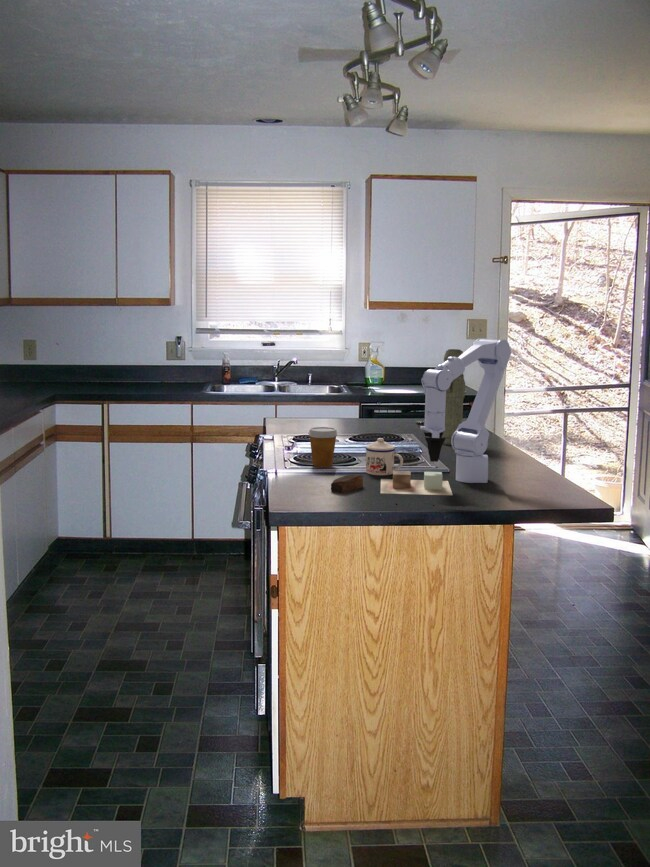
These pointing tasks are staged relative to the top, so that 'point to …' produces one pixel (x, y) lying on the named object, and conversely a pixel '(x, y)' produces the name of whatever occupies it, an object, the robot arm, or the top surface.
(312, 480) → the top surface
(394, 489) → the build board
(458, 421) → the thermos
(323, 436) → the disposable coffee cup
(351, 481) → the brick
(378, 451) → the teacup with lid
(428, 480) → the sage block
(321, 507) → the top surface
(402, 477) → the walnut block
